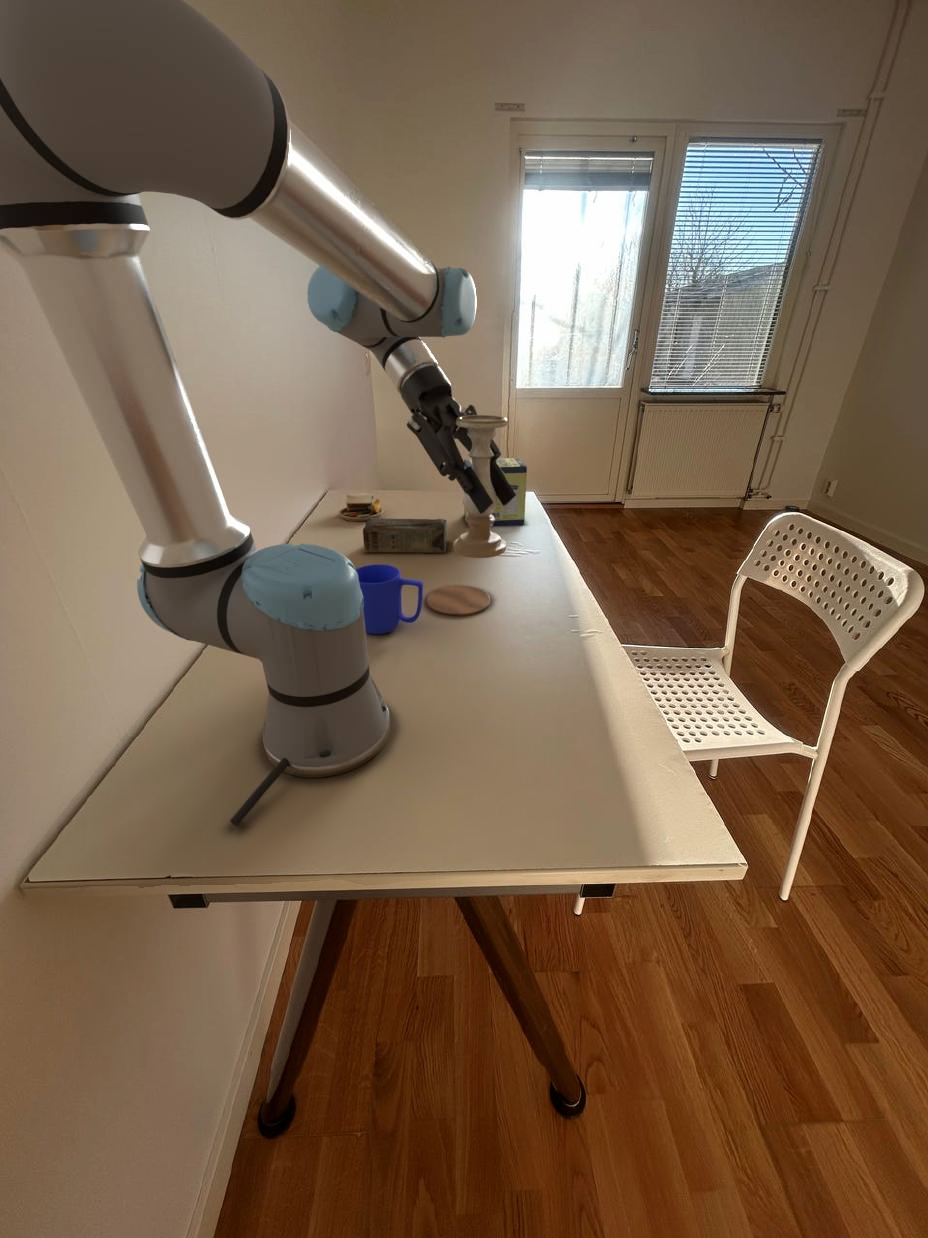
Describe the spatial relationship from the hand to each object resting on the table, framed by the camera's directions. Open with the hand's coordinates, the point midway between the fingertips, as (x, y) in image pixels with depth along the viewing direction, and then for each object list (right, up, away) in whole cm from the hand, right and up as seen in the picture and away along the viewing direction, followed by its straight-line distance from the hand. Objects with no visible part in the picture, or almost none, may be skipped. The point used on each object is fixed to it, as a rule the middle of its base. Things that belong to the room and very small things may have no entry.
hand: (498, 504), depth 78 cm
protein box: (+3, +9, +63) cm, 64 cm away
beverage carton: (-19, -1, +44) cm, 48 cm away
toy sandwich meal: (-35, +12, +68) cm, 77 cm away
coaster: (-6, -14, +19) cm, 24 cm away
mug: (-18, -19, +10) cm, 28 cm away
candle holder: (-3, -6, +6) cm, 9 cm away
